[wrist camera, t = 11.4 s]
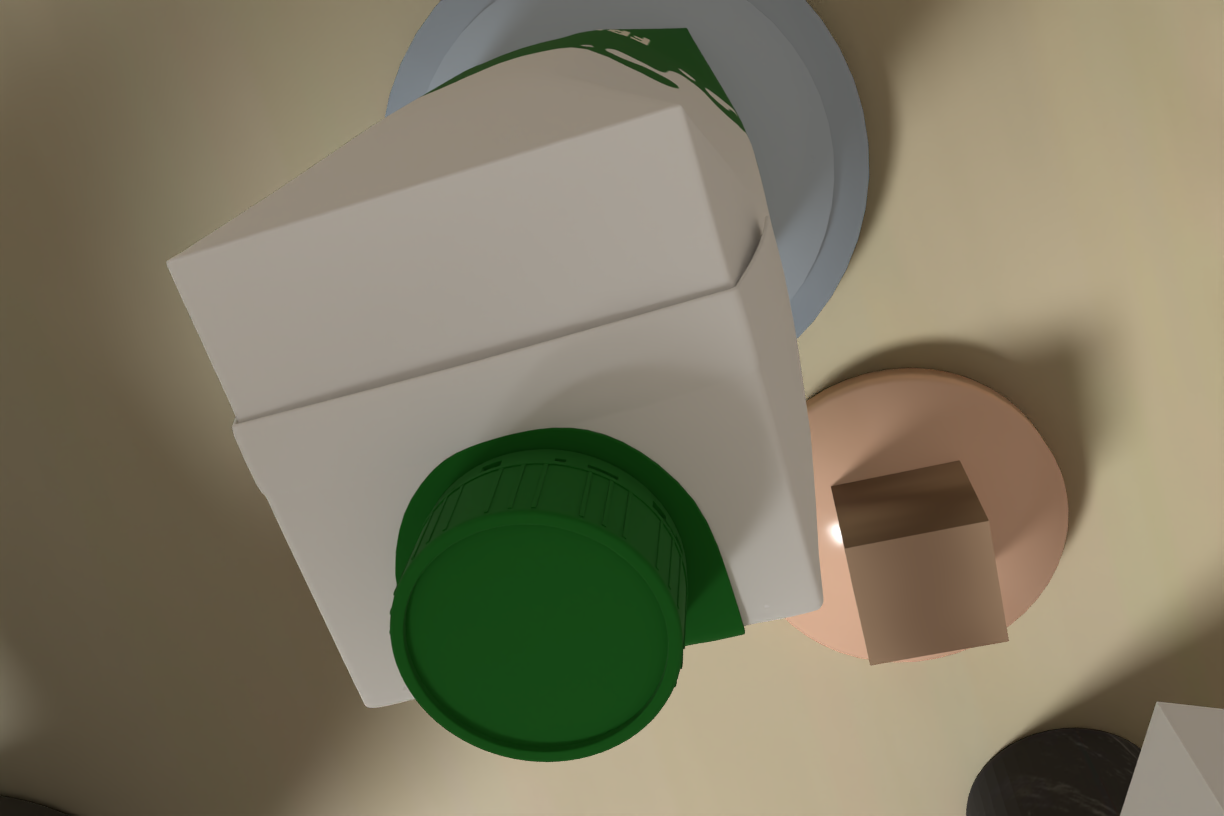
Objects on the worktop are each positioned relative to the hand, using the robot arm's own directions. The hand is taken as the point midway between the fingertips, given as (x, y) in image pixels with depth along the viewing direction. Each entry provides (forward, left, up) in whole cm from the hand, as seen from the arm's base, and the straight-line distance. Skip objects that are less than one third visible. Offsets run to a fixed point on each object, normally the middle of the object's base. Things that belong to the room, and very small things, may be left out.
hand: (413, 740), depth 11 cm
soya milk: (0, 0, -25) cm, 25 cm away
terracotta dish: (+10, -10, -26) cm, 30 cm away
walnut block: (+10, -10, -25) cm, 29 cm away
